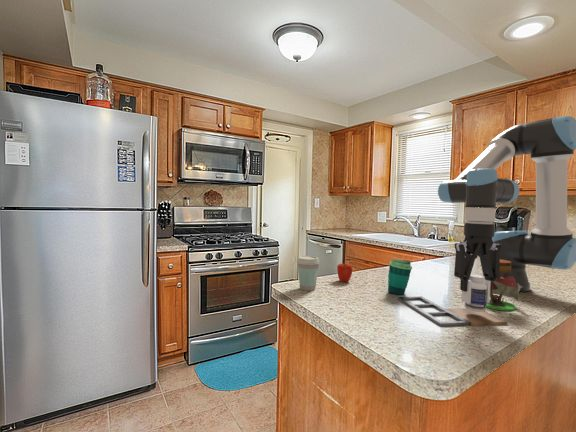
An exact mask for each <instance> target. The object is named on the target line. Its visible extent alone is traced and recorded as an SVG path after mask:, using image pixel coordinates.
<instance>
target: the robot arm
mask: <svg viewBox="0 0 576 432" xmlns="http://www.w3.org/2000/svg"><path fill="white" fill-rule="evenodd" d="M575 150H576V118H575V117H573V116H571V115H564V116H555V117H550V118H546V119H545V118H544V119H540V120H535V121H531V122H525V123H524V122H523V123H520V124H517V125H514V126H511V127H510V128H508V129H505V130H504V131H503V132H501V133H499V134H498V135H496V136H495V137H494V138H493V139H492V140H491V141H489V142H488V144H487V146H486V149H485V150H483V152H482V153H481V154H480V155H478V157H476V159H474V160H473V161H472V162H471V163H470V164H469V165H468V166H467V167H465V169H463V171H462V172H460V173H459V174H458V175H457V176H456V177H455V178H454V179H453V180H445V181H441V183H440V184H439V185H438V188H437V195H438V198H439V200H440V201H441V202H443V203H451V204H455V203H457V204H458V203H461V204H464V203H465V206H464V221H465V222H464V223H463V235H464V239H463V242H460V243H458V242H456V243H455V244H454V249H455V258H454V273H453V276H454V277H455V278H457V279H459V280H460V282H459V283H460V284H459V286H460V287H459V289H460V291H461V301H462V302H464V303H465V302H466V303H468V304H471V285H472V281H470V280H469V278H470V275H472V271H473V267H474V264H475V261H476V259H477V258H479V261H480V266H481V270H482V276H484V277H485V282H484V284H485V285H486V286H487V301H486V303H490V299H491V298H490V291H491V290H492V281H495V280H496V278H497V279H498V278H499V277H501V276H504V275H509V276H512V277H513V278H514V279H515V282H516V283H518V284H519V285H520V286H522V288H520V290H519V292H520V293H521V292H522V293H523V292H529V291H531V283H530V282H529V277H528V274H527V271H526V269H527V267H526V265H530V266H536V267H541V268H548V269H549V268H550V269H552V270H563V271H565V270H567V271H568V270H570V269H572V267H573V266H574V265H575V264H576V237H573V231H572V230H570V229H569V228H568V225H567V223H568V166H569V165H568V163H569V162H568V161H569V160H570V158H572V157H573V156H574V154H575V153H574V151H575ZM523 155H530V160H532V161H533V162H534V163H535V227H534V228H533V229H532V230H530V234H529V232H528V230H507V231H502V230H501V231H496V228H495V227H496V225H495V224H494V223H495V222H496V213H497V212H496V208H497V207H496V205H497V204H503V205H504V204H509V203H512V202H514V201H515V200H517V198H518V197H519V195H520V191H521V190H520V187H519V184H518V183H517V182H516V181H514V180H511V179H509V178H506V177H505V178H503V177H502V178H501V177H499V176H498V171H497V169H499V167H501V165H502V164H504V162H506V161H507V162H508V161H509V160H511V159H512V158H513V157H516V156H523ZM500 259H501V260H507V261H510V262H511V273H499V270H500Z"/></svg>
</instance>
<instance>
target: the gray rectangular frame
mask: <svg viewBox="0 0 576 432" xmlns="http://www.w3.org/2000/svg"><path fill="white" fill-rule="evenodd" d="M397 300H398V301H399V302H401V303H403V304H404V305H406V306H407V307H409V308H411V309H412V310H413V311H416V313H418V314H420V315H422V316H423V317H424V318H427V319H428V320H430V321H431V322H433V323H434V324H436V325H437V326H439V327H454V326H455V327H459V326H460V327H462V326H471V325H470V324H471V322H469V321H467V320H465V319H463V318H462V317H460V316H458V315H456V314H454V313H452V312H450V311H448V310H446V309H447V308H444V307H443V306H441V305H438V304H437V303H435V302H433V301H431V300H429V299H428V298H425V297H423V296H422V295H421V296H397ZM414 300H415V301H418V300H419V301H422V302H423V303H411V302H410V301H414ZM422 308H434V309H435V310H438V311H425V310H423V309H422ZM435 316H437V317H435ZM438 316H449V317H451V318H452V319H454V321H453V320H452V321H443V320H442V321H441V319H438Z"/></svg>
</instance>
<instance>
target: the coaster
mask: <svg viewBox="0 0 576 432" xmlns="http://www.w3.org/2000/svg"><path fill="white" fill-rule="evenodd" d="M445 309H446V310H448V311H450V312H452V313H454V314H456V315H458V316H460V317H462V318H463V319H465V320H467V321H469V322H471V324H470V325H469V326H471V327H478V326H479V327H480V326H501V325H508V321H507V320H506V319H503V318H501V317H498V316H497V315H494V314H492V313H490V312H487V311H486V310H485V311H483V312H479V311H472V310H469V309H467V308H465V307H464V308H462V307H460V308H459V307H458V308H445Z"/></svg>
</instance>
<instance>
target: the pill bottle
mask: <svg viewBox="0 0 576 432" xmlns="http://www.w3.org/2000/svg"><path fill="white" fill-rule="evenodd" d="M469 280H470V281H472V285H471V304H468V303H466V302H464V308H467V309H469V310H472V311H479V312H483V311H485V312H486V310H487V307H486V301H487V286H486V285H485V284H484V282H485V277H484V276H483V275H480V274H471V275H470V278H469Z"/></svg>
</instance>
